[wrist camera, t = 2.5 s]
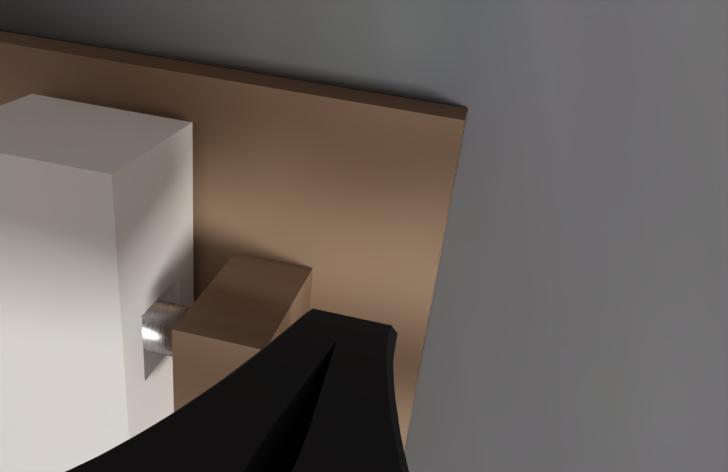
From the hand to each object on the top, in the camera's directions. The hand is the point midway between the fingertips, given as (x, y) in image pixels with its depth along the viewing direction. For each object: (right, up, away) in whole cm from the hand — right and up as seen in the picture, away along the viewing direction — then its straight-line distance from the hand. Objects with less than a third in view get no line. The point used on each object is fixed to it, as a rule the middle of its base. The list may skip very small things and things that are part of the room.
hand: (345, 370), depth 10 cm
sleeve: (-6, +1, +7) cm, 9 cm away
